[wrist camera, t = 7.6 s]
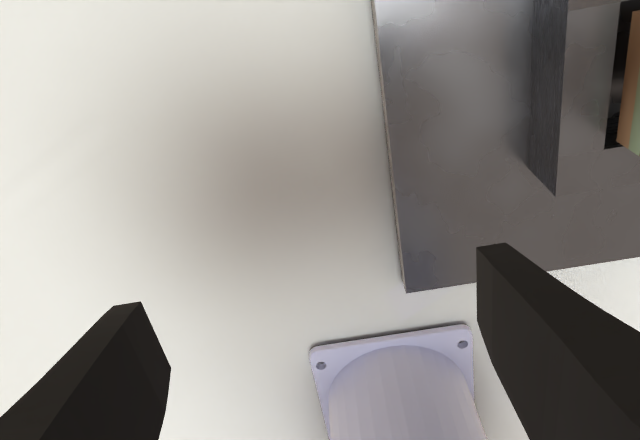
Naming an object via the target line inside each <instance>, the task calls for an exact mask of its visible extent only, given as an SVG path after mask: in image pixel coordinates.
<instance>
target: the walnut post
mask: <svg viewBox="0 0 640 440" xmlns="http://www.w3.org/2000/svg"><path fill="white" fill-rule="evenodd" d="M616 141H617V142H618V143H620V144H621V145H623V146H624V147H626V148H627V149H629V150H630V151H632V152H633V153H635V154H636V155H638V156H639V157H640V10H638V11H633V12H632V20H631V28H630V35H629V43H628V51H627V59H626V67H625V75H624V83H623V91H622V99H621V107H620V115H619V123H618V131H617V139H616Z"/></svg>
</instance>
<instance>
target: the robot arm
mask: <svg viewBox="0 0 640 440" xmlns="http://www.w3.org/2000/svg"><path fill="white" fill-rule="evenodd" d="M476 275H477V322H478V325H479V328H480V331H481V334H482V337H483V339H484V342H485V345H486V348H487V351H488V354H489V356H490V359H491V362H492V364H493V366H494V368H495V371H496V373H497V375H498V377H499V379H500V381H501V383H502V385H503V387H504V389H505V391H506V393H507V395H508V397H509V399H510V401H511V403H512V405H513V407H514V409H515V411H516V413H517V415H518V417H519V419H520V421H521V423H522V425H523V427H524V429H525V431H526V433H527V435H528V437H529V439H530V440H640V332H639V331H637V330H635V329H634V328H632V327H630V326H629V325H627V324H625V323H624V322H622V321H620V320H619V319H617V318H615V317H614V316H612V315H610V314H609V313H607V312H605V311H604V310H602V309H601V308H599V307H598V306H596V305H594V304H593V303H591V302H590V301H588V300H587V299H585V298H584V297H582V296H581V295H579V294H578V293H576V292H575V291H573V290H572V289H570V288H569V287H567V286H566V285H564V284H563V283H561V282H560V281H559V280H557V279H556V278H554V277H553V276H551V275H550V274H549V273H547V272H546V271H544V270H543V269H542V268H540V267H539V266H538V265H536V264H535V263H533V262H532V261H531V260H529V259H528V258H527V257H525V256H524V255H523V254H521V253H520V252H518V251H517V250H516V249H514V248H513V247H512V246H510V245H509V244H507V243H506V242H505V243H499V244H492V245H486V246H480V247H476ZM460 341H464V342H462V343H459V342H460ZM309 360H310V364H311V368H312V372H313V376H314V380H315V384H316V388H317V392H318V396H319V400H320V404H321V408H322V413H323V417H324V421H325V425H326V429H327V433H328V437H329V440H487V437H486V434H485V431H484V429H483V426H482V423H481V421H480V418H479V415H478V412H477V410H476V407H475V404H474V373H473V338H472V332H471V329H470V327H468V326H467V325H464V324H459V325H452V326H446V327H439V328H433V329H426V330H420V331H413V332H407V333H400V334H393V335H387V336H380V337H374V338H367V339H361V340H354V341H347V342H341V343H334V344H328V345H321V346H316V347H313V348H312V349H311V350H310V352H309ZM319 362H324V363H323V364H319ZM170 373H171V367H170V365H169V363H168V360H167V358H166V356H165V354H164V352H163V349H162V347H161V345H160V343H159V341H158V338H157V336H156V334H155V332H154V330H153V327H152V325H151V323H150V321H149V318H148V316H147V314H146V312H145V310H144V307H143V305H142V303H141V302H134V303H128V304H122V305H116V306H113V307H112V308H111V309H110V310H108V311H107V312H106V313H105V314H104V315H103V316H102V317H101V318H100V319H99V320H98V321H97V322H96V323H95V324H94V325H93V326H92V327H91V328H90V329H89V330H88V331H87V332H86V333H85V334H84V335H83V336H82V337H81V338H80V339H79V340H78V342H77V343H76V344H75V345H74V346H73V347H72V348H71V349H70V350H69V351H68V352H67V353H66V354H65V355H64V356H63V357H62V358H61V359H60V360H59V361H58V362H57V363H56V364H55V365H54V366H53V367H52V368H51V369H50V370H49V371H48V372H47V373H46V374H45V375H44V376H43V377H42V378H41V379H40V380H39V381H38V382H37V383H36V384H35V385H34V386H33V387H32V388H31V389H30V390H29V391H28V392H27V393H26V394H25V395H23V396H22V397H21V398H20V399H19V400H18V401H17V402H16V403H15V404H14V405H13V406H12V407H11V408H10V409H9V410H8V411H7V412H6V413H5V414H3V415H2V416H1V417H0V440H158V439H159V435H160V431H161V427H162V424H163V420H164V416H165V411H166V404H167V397H168V390H169V381H170Z"/></svg>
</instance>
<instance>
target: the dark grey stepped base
mask: <svg viewBox="0 0 640 440" xmlns="http://www.w3.org/2000/svg"><path fill="white" fill-rule="evenodd" d="M371 4H372V13H373V22H374V31H375V40H376V49H377V58H378V67H379V76H380V85H381V94H382V103H383V112H384V121H385V130H386V139H387V148H388V157H389V166H390V175H391V184H392V193H393V201H394V210H395V219H396V228H397V237H398V246H399V255H400V264H401V273H402V281H403V284H404V288H405V291H406V293H411V292H418V291H424V290H431V289H437V288H443V287H450V286H456V285H462V284H469V283H475V282H477V275H476V247H480V246H486V245H492V244H499V243H505V242H506V243H507V244H509V245H510V246H512V247H513V248H514V249H516V250H517V251H518V252H520V253H521V254H523V255H524V256H525V257H527V258H528V259H529V260H531V261H532V262H533V263H535V264H536V265H538V266H539V267H540V268H542V269H543V270H544V271H552V270H558V269H565V268H571V267H578V266H584V265H590V264H597V263H603V262H610V261H616V260H622V259H629V258H635V257H640V157H639V156H638V155H636V154H635V153H633V152H632V151H630V150H629V149H627V148H626V147H624V146H623V145H621V144H620V143H618V142H617V141H616V139H617V131H618V123H619V115H620V107H621V99H622V91H623V83H624V75H625V67H626V59H627V51H628V43H629V35H630V28H631V20H632V12H633V11H638V10H640V0H371Z"/></svg>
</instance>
